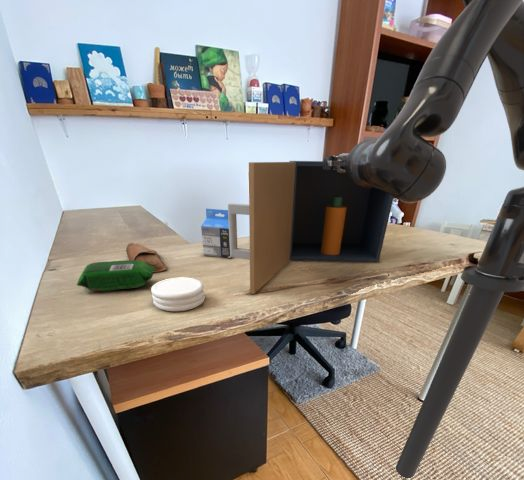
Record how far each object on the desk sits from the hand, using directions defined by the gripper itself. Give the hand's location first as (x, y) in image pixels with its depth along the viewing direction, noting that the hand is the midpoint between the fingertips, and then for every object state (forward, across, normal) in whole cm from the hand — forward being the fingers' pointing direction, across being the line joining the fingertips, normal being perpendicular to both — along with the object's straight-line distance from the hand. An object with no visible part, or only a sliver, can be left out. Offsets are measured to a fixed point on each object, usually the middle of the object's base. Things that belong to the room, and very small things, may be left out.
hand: (350, 162), depth 68 cm
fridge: (+12, 0, +24) cm, 27 cm away
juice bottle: (+9, 0, +23) cm, 25 cm away
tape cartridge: (+7, +33, +24) cm, 42 cm away
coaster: (-27, +37, +24) cm, 51 cm away
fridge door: (-9, +20, +23) cm, 32 cm away
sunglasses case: (-2, +52, +24) cm, 57 cm away
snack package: (-19, +52, +24) cm, 60 cm away
